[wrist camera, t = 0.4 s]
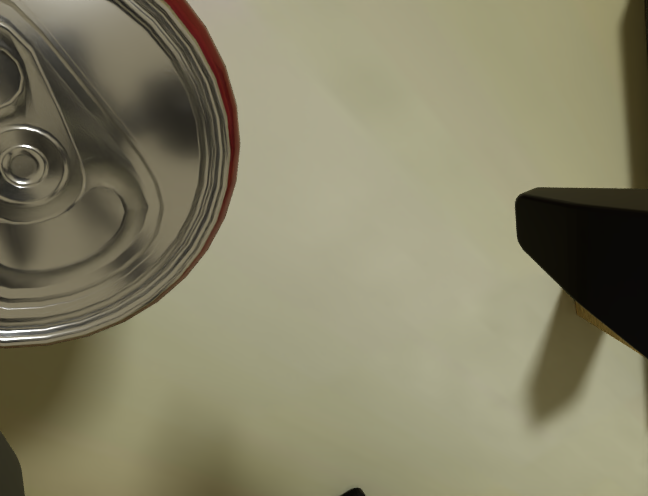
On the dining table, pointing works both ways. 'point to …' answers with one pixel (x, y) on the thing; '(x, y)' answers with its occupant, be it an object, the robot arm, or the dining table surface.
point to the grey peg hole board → (647, 5)
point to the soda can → (106, 160)
